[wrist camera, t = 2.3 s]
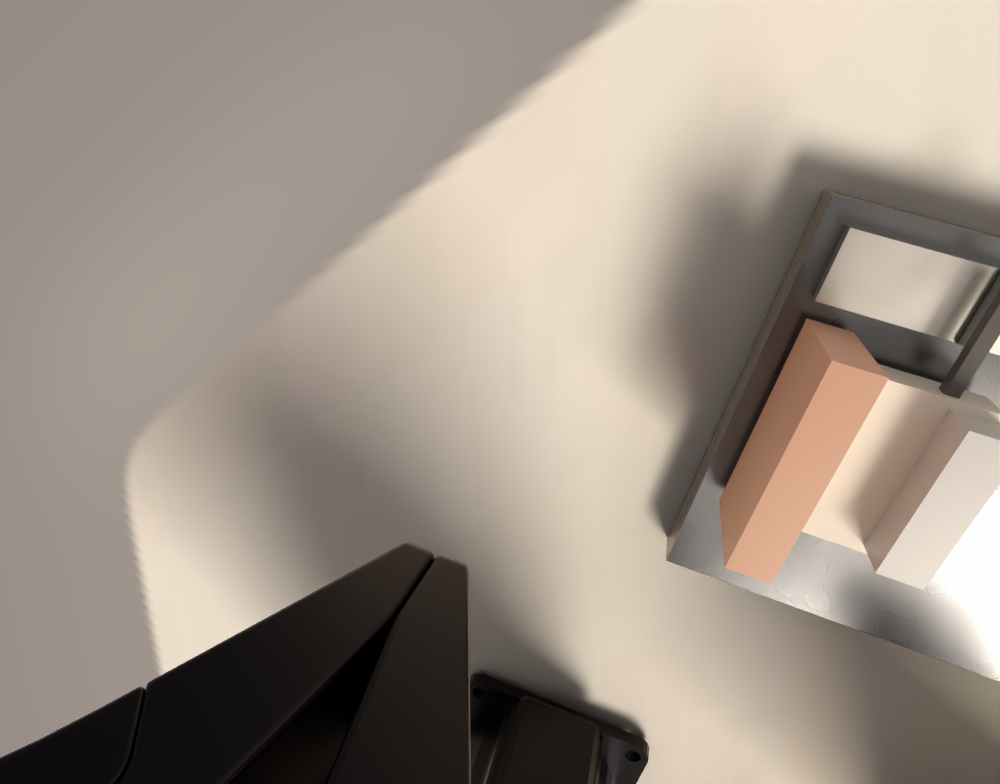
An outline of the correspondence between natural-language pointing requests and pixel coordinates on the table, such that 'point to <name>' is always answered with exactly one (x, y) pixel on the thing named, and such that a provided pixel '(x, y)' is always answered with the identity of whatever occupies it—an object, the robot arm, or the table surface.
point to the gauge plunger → (864, 459)
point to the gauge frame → (893, 343)
